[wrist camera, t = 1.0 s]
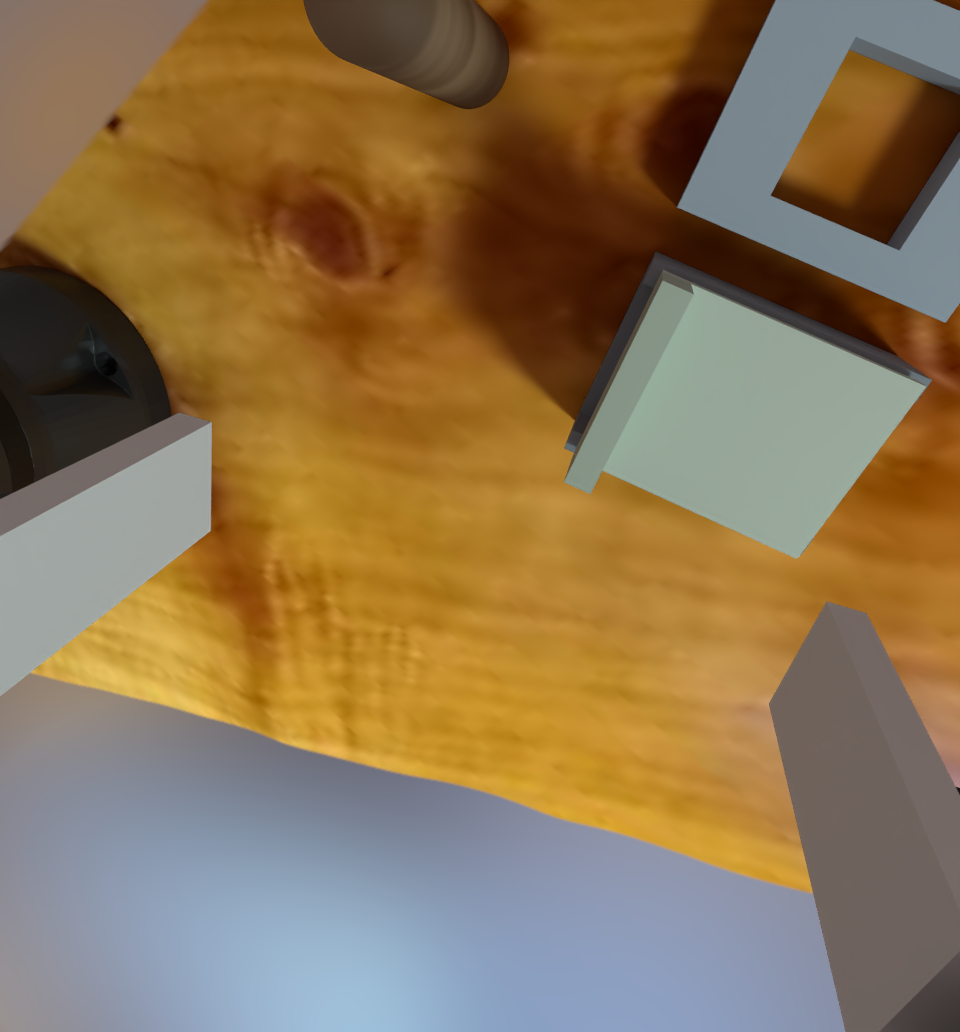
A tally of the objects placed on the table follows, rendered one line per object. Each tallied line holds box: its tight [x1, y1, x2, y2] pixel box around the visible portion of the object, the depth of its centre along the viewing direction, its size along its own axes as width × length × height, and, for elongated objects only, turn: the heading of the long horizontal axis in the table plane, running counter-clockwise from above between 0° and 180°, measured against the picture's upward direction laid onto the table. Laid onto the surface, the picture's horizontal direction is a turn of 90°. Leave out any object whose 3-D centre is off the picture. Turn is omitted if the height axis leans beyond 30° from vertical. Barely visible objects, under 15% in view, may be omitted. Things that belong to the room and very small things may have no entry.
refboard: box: [564, 251, 932, 554], centre depth 31 cm, size 12×9×4 cm
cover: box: [564, 270, 926, 559], centre depth 27 cm, size 11×9×4 cm
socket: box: [677, 0, 960, 323], centre depth 26 cm, size 12×9×2 cm
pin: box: [304, 0, 509, 109], centre depth 24 cm, size 4×4×12 cm
